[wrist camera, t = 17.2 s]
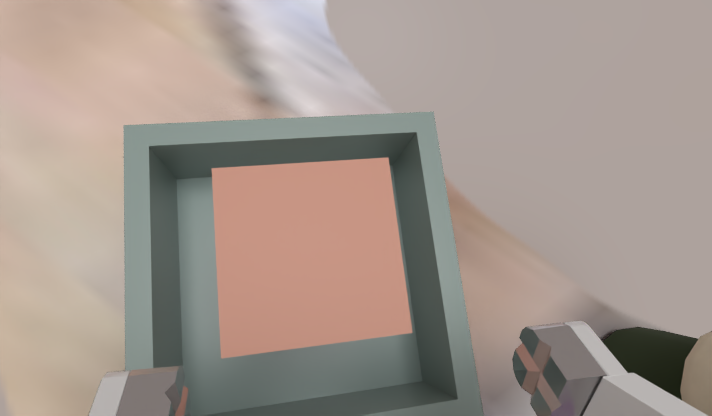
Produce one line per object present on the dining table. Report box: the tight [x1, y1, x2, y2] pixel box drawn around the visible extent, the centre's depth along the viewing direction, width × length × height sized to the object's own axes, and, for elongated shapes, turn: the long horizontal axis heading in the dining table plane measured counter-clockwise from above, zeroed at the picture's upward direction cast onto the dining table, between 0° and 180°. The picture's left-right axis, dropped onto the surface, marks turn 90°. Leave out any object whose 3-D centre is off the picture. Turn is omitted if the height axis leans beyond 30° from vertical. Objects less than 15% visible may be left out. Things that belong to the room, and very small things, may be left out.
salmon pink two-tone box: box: [212, 157, 413, 359], centre depth 18 cm, size 5×5×12 cm
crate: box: [124, 112, 484, 416], centre depth 22 cm, size 14×14×6 cm
